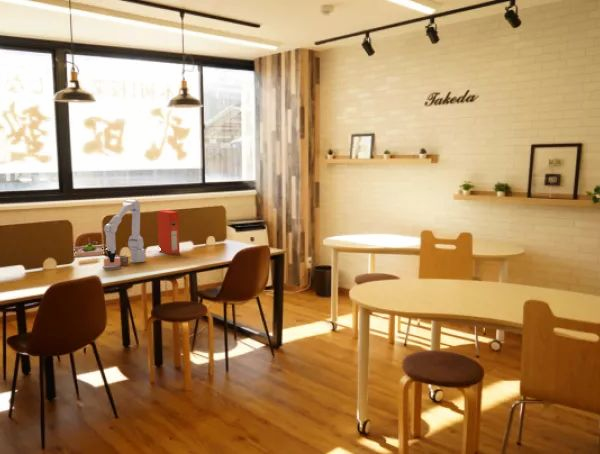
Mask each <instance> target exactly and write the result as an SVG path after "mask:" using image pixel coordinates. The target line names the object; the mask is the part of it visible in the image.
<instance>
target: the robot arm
mask: <svg viewBox="0 0 600 454" xmlns="http://www.w3.org/2000/svg"><path fill="white" fill-rule="evenodd" d="M128 211H129V212H130V213H131V216H132V217H131V235H130V236H129V238H128V242H127V246H128V248H129V249H130V259H129V261H130V263H133V264H134V263H144V262H146V251H145V248H144V246H145V244H144V238H143V237H142V236H141V233H140V232H141V202H140V201H139V200H136V199H125V200H124V201H123V202H122V207H121V208H120V210H119V211H118V213H117V214H116V215H114V216H112V218H111V219H110V221H109V222H108V223H107V224H105V225H104V227H103V231H104V233H105V239H106V240H105V241H106V242H105V246H106V247H107V248H106V249H105V250H108V251H106V252H107V258H110V262H111V263H114V259H115V257H116V255H117V251H116V250H117V248H116V247H117V246H116V245H117V243H116V232H117V230H118V228H119V227H118V226H119V225H120V224H121V222H122V220H123V219H122V218H123V217H124V216H125V215H126V214H127V212H128Z"/></svg>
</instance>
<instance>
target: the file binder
mask: <svg viewBox="0 0 600 454" xmlns="http://www.w3.org/2000/svg"><path fill="white" fill-rule="evenodd" d="M179 220H180V219H179V212H178V211H174V210H169V209H163V210H157V234H158V248H159V247H160V248H161V251H162V252H163V254H167V255H170V256H173V255H177V254H180V225H179V224H180V223H179V222H180V221H179ZM162 252H161V253H162Z"/></svg>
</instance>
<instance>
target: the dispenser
mask: <svg viewBox="0 0 600 454" xmlns="http://www.w3.org/2000/svg"><path fill="white" fill-rule="evenodd" d="M115 257H120V265H119V266H120V267H121V265H122V266H129V256H128V255H127V254H126V255H118V254H116V255H115Z"/></svg>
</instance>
